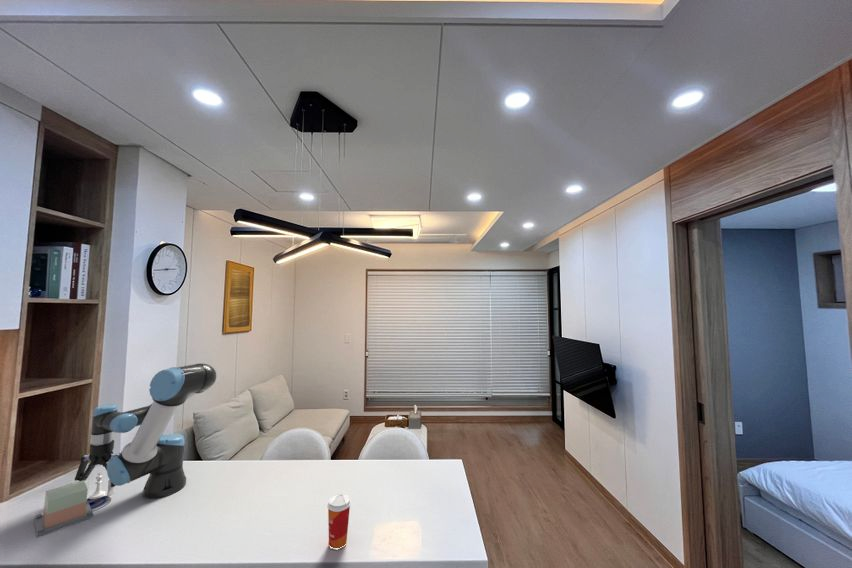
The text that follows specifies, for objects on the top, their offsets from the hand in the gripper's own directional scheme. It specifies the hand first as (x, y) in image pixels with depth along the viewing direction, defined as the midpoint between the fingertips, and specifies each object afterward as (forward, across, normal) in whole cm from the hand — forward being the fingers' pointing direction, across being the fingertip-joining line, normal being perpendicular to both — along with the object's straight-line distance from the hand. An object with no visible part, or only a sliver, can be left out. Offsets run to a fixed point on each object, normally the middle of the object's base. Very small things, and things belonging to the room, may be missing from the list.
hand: (97, 495), depth 138 cm
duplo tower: (0, 0, +15) cm, 15 cm away
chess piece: (0, 0, 0) cm, 0 cm away
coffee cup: (0, -106, +43) cm, 114 cm away
